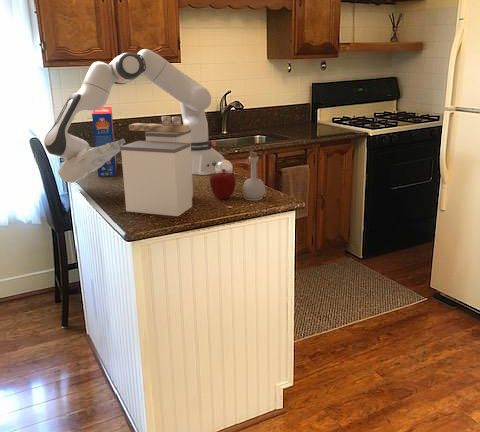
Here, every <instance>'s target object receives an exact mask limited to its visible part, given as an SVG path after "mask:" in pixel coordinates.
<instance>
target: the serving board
mask: <svg viewBox="0 0 480 432" xmlns="http://www.w3.org/2000/svg"><path fill="white" fill-rule="evenodd" d="M181 119H182V116H172V117H171V116H170V115H165V116H161V123H145V122H144V123H143V122H136V123H135V122H134V123H132V124H128V130H129V131H134V132H135V131H136V132H137V131H140V132H141V131H143V132H149V131H160V132H187V131H190V128H189V125H183V124H182V120H181Z"/></svg>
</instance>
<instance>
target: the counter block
mask: <svg viewBox="0 0 480 432" xmlns="http://www.w3.org/2000/svg"><path fill="white" fill-rule="evenodd" d="M190 132H191V129H190V131H187V132H160V131H144V137H145V140H136V141H133V142H130V143H127V144H123V145H122V146H120V150H121V151H120V153H121V164H122V174H123V175H122V176H123V186H124V187H123V188H124V200H125V201H124V202H125V212H131V213H141V214H150V215H160V216H161V215H162V216H170V217H172V216H173V217H179V216H180V215H182V214H184V213H185V212H186V211H188V210H189V209H191V208H192V207H193V198H194V187H193V186H194V185H193V174H192V160H191V136H190Z"/></svg>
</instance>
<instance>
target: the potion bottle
mask: <svg viewBox="0 0 480 432" xmlns="http://www.w3.org/2000/svg"><path fill="white" fill-rule="evenodd" d="M259 157H260V156H258V153H257V152H255V151H252V150H250V151H249V156H248V161H249V163H250V178H247V179H245V181H244V183H243V185H242V188H241V192H242V196H243V197H244V200H247V201H251V202H252V201H253V202H255V201H261V200H263V197H264V196H265V194H266V190H267V189H266V186H265V183H264V182H263V180H262V179H261V178H257V163H258V161H259Z"/></svg>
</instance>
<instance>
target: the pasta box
mask: <svg viewBox="0 0 480 432" xmlns="http://www.w3.org/2000/svg"><path fill="white" fill-rule="evenodd" d="M91 117H92V128H93V138H94V147H99V146H102V145H106V144H107V143H112V142H116V141H115V134H114V133H115V132H114V119H113V110H112V106H103V107H102V108H100V109H98V110H92V113H91ZM111 176H112V177H114V176H117V154H116V155H114V156H113V157H112V158H110V161H108V162H107V163H105V164H103V165H102V166H101V167H100V168H98V169H97V177H111Z"/></svg>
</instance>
